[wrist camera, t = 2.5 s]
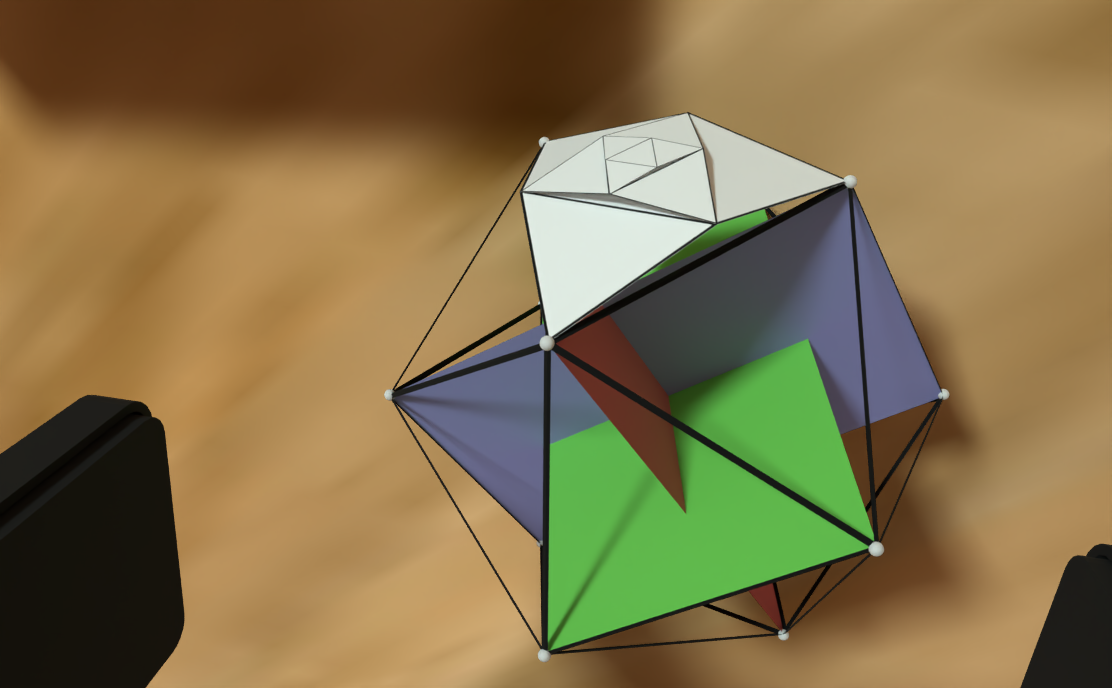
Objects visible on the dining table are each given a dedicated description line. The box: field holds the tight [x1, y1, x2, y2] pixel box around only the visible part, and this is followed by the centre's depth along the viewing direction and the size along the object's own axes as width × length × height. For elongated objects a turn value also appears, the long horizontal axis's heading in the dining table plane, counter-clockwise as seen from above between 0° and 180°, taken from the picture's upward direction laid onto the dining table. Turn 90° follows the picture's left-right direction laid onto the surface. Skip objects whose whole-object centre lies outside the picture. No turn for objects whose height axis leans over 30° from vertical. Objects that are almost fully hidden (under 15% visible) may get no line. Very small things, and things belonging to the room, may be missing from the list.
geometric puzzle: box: [384, 112, 949, 662], centre depth 13 cm, size 7×7×8 cm
